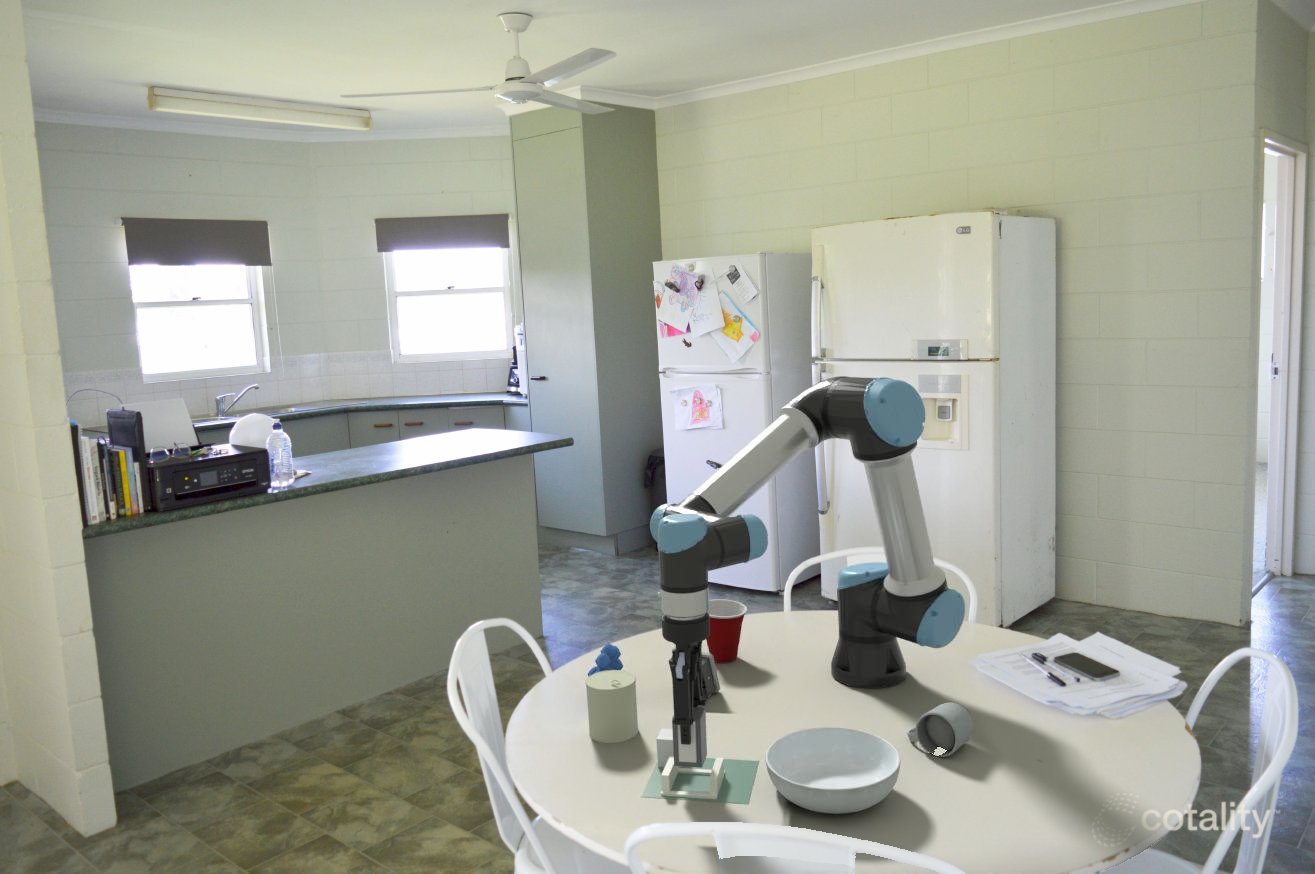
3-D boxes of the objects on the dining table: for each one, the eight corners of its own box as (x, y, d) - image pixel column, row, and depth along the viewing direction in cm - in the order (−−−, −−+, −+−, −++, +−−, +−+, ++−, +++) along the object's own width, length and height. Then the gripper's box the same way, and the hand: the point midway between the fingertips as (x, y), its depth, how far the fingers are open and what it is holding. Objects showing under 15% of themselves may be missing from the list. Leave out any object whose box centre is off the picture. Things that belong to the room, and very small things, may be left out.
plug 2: (707, 754, 157) (705, 707, 156) (702, 767, 153) (700, 719, 152) (678, 752, 158) (676, 705, 157) (672, 765, 154) (670, 717, 153)
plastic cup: (735, 671, 206) (732, 616, 204) (691, 663, 211) (688, 610, 210) (757, 653, 215) (755, 601, 213) (714, 646, 220) (712, 595, 219)
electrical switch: (721, 692, 195) (717, 649, 193) (708, 704, 191) (704, 660, 189) (681, 684, 200) (677, 642, 198) (668, 695, 196) (663, 653, 194)
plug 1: (685, 757, 165) (684, 729, 164) (681, 768, 161) (679, 740, 161) (663, 755, 166) (661, 728, 165) (657, 766, 162) (656, 738, 162)
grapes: (600, 690, 199) (596, 634, 197) (631, 693, 197) (627, 636, 195) (577, 714, 188) (573, 655, 186) (609, 717, 186) (606, 657, 184)
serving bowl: (785, 757, 167) (784, 719, 166) (910, 774, 159) (909, 734, 158) (750, 818, 148) (748, 776, 147) (889, 842, 140) (888, 797, 139)
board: (759, 769, 163) (758, 743, 162) (748, 812, 149) (747, 785, 149) (660, 763, 167) (659, 738, 166) (641, 805, 153) (640, 778, 152)
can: (601, 755, 171) (597, 691, 169) (581, 736, 179) (577, 674, 177) (648, 742, 175) (644, 679, 173) (626, 723, 183) (622, 663, 181)
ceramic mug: (977, 744, 168) (976, 702, 167) (957, 762, 162) (956, 718, 161) (919, 730, 175) (918, 689, 174) (899, 747, 168) (897, 705, 167)
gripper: (673, 595, 161) (679, 728, 164) (649, 630, 144) (656, 778, 148) (717, 596, 160) (722, 730, 163) (698, 632, 143) (704, 781, 146)
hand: (691, 752), depth 155 cm, fingers closed on plug 2, 4 cm apart
